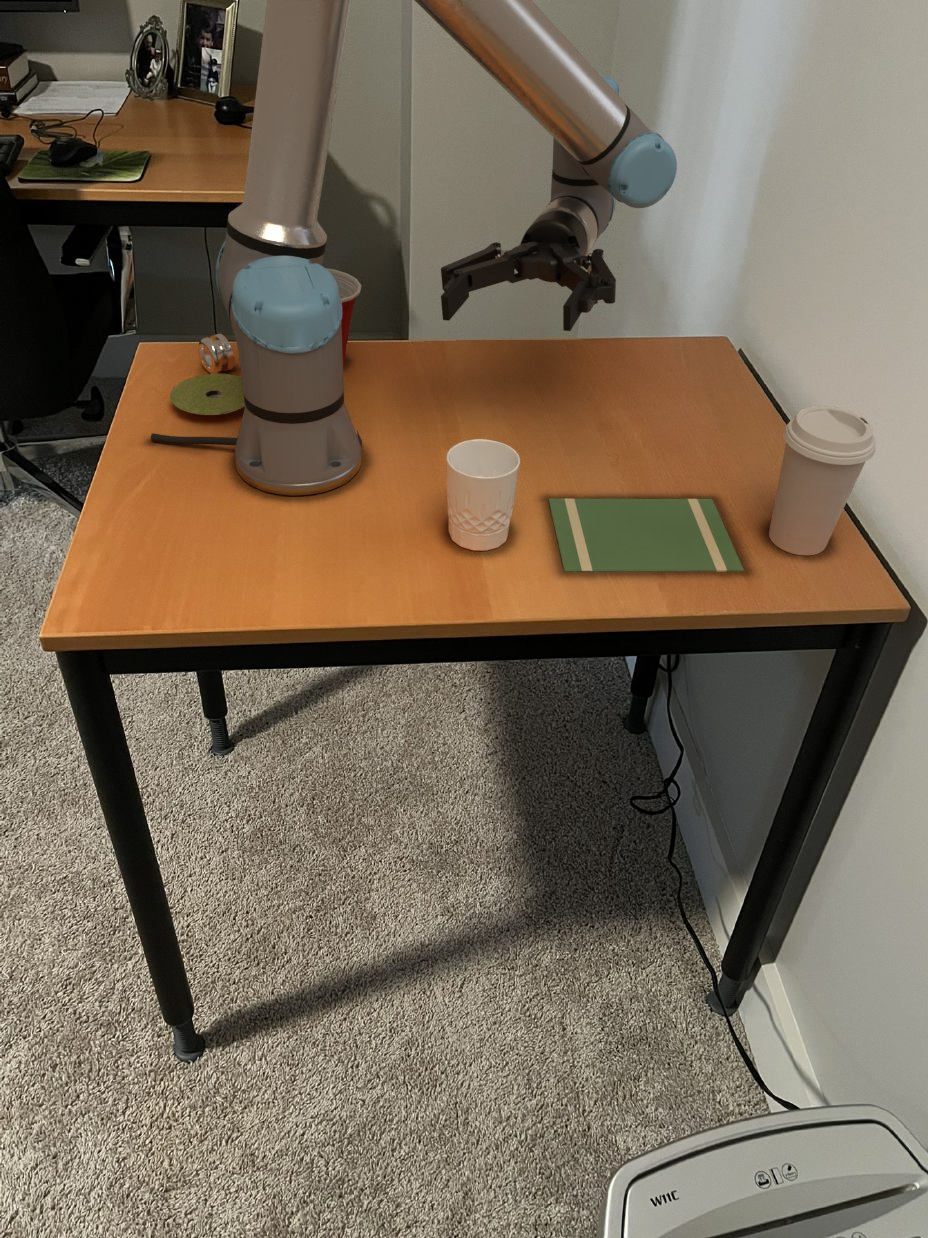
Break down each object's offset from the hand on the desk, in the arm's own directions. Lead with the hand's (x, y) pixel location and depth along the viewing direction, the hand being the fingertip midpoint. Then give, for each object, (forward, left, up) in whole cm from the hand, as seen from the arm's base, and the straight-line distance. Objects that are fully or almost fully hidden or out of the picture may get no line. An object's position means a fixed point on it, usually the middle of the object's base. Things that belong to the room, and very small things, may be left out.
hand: (504, 313), depth 105 cm
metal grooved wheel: (-36, +30, -22) cm, 52 cm away
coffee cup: (+35, -10, -22) cm, 42 cm away
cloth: (+17, -9, -22) cm, 29 cm away
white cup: (-2, -9, -22) cm, 24 cm away
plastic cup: (-21, +33, -22) cm, 45 cm away
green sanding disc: (-35, +20, -22) cm, 46 cm away
